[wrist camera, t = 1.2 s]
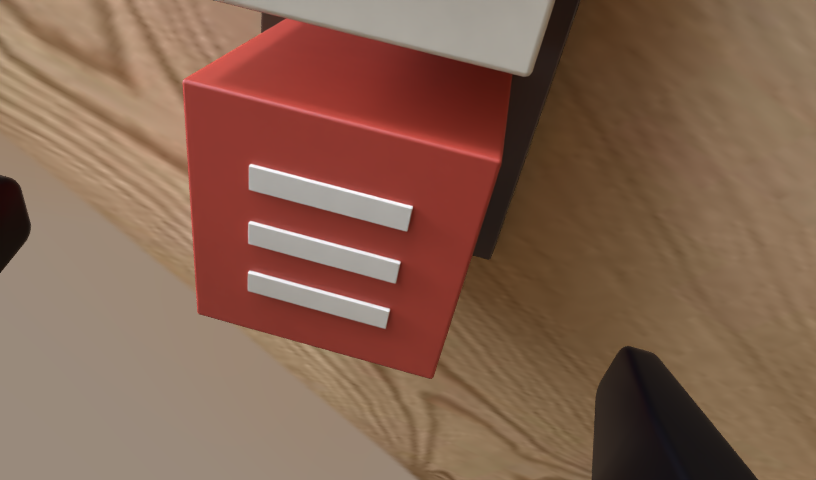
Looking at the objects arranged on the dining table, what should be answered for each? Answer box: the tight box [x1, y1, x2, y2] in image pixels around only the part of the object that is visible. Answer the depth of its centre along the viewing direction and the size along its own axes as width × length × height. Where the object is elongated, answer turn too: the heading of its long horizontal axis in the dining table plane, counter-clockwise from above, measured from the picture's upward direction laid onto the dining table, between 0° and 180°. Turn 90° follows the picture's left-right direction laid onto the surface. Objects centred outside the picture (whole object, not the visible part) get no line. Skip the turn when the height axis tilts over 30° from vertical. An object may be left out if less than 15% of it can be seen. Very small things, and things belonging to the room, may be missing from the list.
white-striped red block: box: [183, 18, 512, 379], centre depth 10 cm, size 4×4×4 cm
